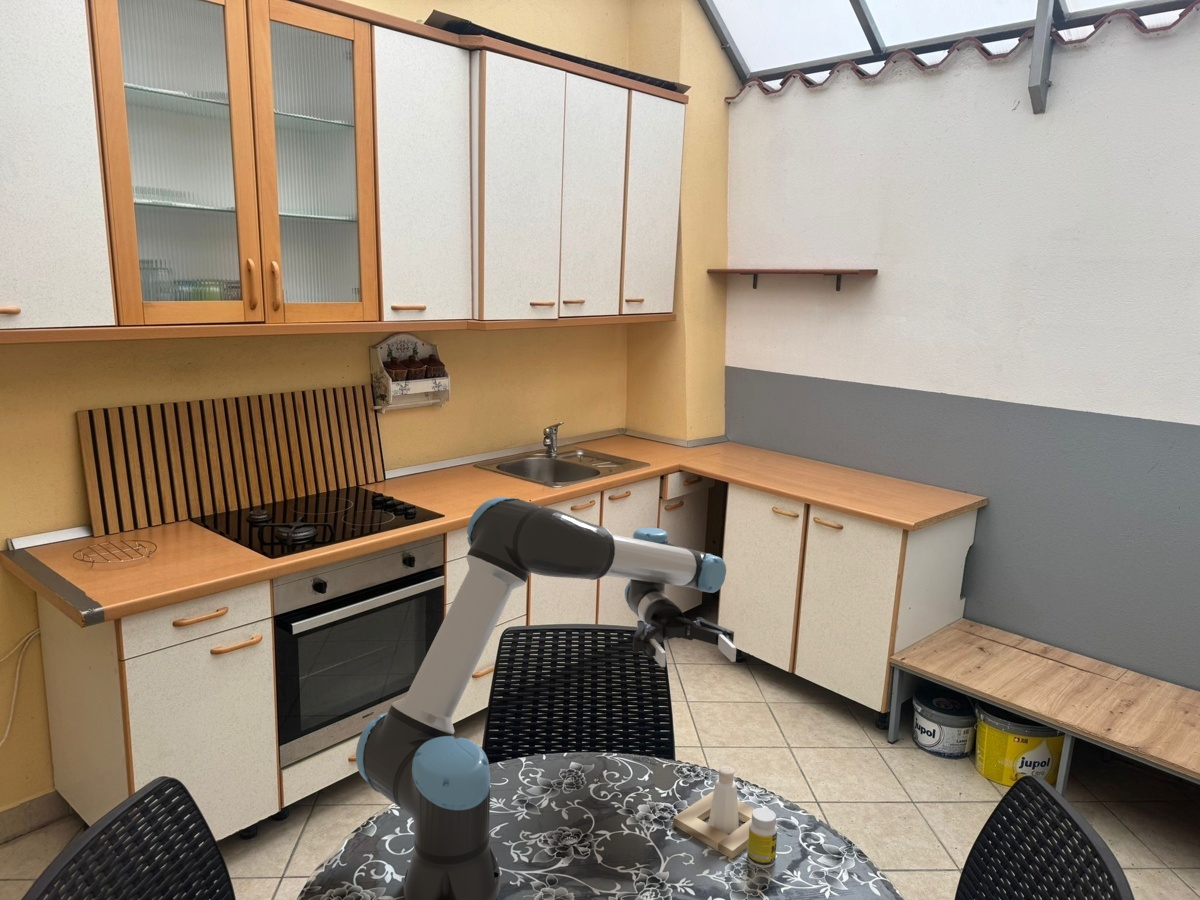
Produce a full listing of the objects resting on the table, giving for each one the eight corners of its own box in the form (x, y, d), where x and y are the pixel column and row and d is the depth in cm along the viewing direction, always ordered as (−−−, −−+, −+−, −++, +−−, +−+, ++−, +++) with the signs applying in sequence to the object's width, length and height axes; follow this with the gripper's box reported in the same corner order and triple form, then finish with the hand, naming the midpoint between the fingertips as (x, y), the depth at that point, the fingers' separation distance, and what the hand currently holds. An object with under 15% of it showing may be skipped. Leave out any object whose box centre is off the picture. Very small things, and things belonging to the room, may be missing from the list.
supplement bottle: (775, 870, 138) (778, 824, 136) (746, 866, 139) (749, 820, 137) (775, 852, 142) (778, 808, 141) (747, 848, 143) (750, 804, 142)
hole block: (672, 824, 149) (673, 817, 149) (716, 796, 159) (716, 788, 158) (732, 858, 141) (732, 850, 140) (774, 826, 150) (774, 818, 149)
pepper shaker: (739, 836, 147) (742, 779, 145) (708, 833, 147) (711, 776, 145) (738, 818, 152) (741, 762, 150) (708, 815, 153) (711, 759, 151)
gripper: (716, 629, 174) (761, 671, 153) (601, 637, 167) (632, 682, 147) (718, 595, 173) (763, 633, 152) (603, 601, 166) (634, 641, 146)
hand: (699, 657), depth 150 cm, fingers open, 13 cm apart
